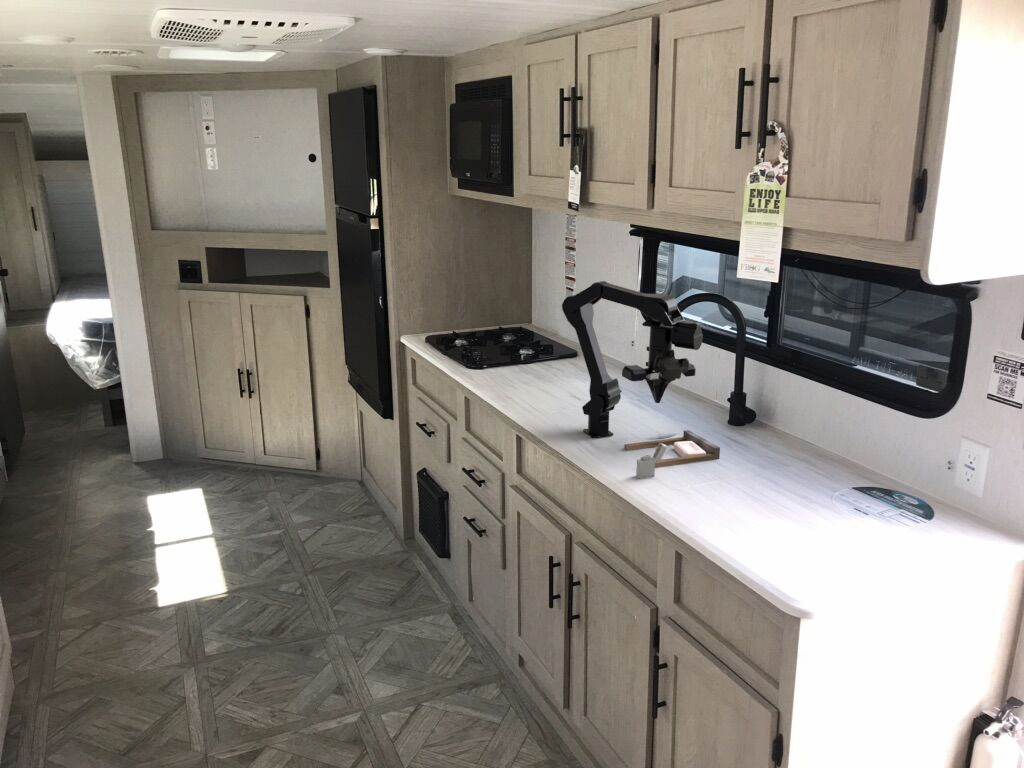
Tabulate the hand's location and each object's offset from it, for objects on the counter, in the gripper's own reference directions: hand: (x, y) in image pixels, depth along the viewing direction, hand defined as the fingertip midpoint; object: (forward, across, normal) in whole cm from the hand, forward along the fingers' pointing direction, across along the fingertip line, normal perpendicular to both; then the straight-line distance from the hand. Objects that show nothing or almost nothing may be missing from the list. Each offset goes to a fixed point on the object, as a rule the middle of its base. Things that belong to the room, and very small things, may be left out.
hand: (657, 402), depth 225 cm
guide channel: (+12, 0, -7) cm, 14 cm away
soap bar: (+12, +6, -8) cm, 16 cm away
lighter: (+12, -12, -19) cm, 25 cm away
